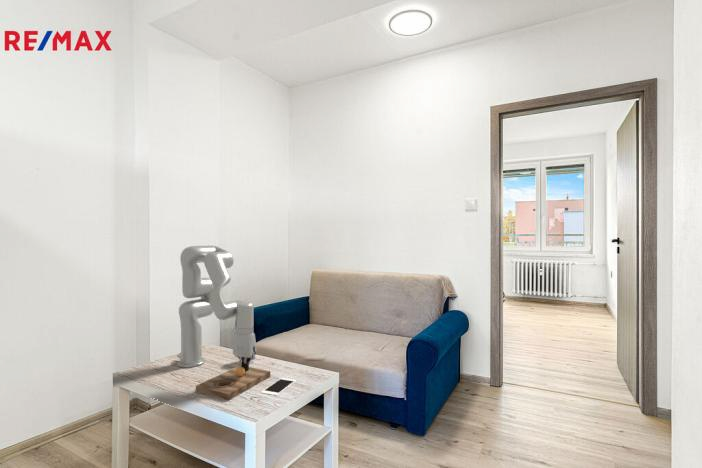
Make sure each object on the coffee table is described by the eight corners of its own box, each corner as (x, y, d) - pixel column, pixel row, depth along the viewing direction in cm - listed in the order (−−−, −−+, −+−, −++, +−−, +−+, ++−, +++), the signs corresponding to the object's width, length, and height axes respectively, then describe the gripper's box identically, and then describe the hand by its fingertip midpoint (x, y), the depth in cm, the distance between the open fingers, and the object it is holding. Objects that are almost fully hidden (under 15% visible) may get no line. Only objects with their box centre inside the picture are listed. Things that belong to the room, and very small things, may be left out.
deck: (240, 370, 172) (240, 365, 172) (270, 376, 164) (270, 371, 164) (195, 391, 148) (195, 385, 148) (228, 400, 141) (228, 394, 141)
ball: (239, 370, 162) (234, 377, 158) (237, 364, 160) (232, 371, 157) (247, 371, 161) (243, 379, 158) (245, 365, 159) (240, 372, 156)
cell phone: (260, 393, 148) (260, 392, 148) (281, 379, 163) (281, 377, 163) (276, 396, 145) (276, 395, 145) (296, 381, 160) (296, 380, 160)
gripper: (226, 330, 162) (226, 371, 162) (252, 334, 156) (252, 376, 156) (237, 326, 169) (238, 365, 169) (263, 330, 162) (263, 370, 162)
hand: (245, 371), depth 162 cm, fingers closed
